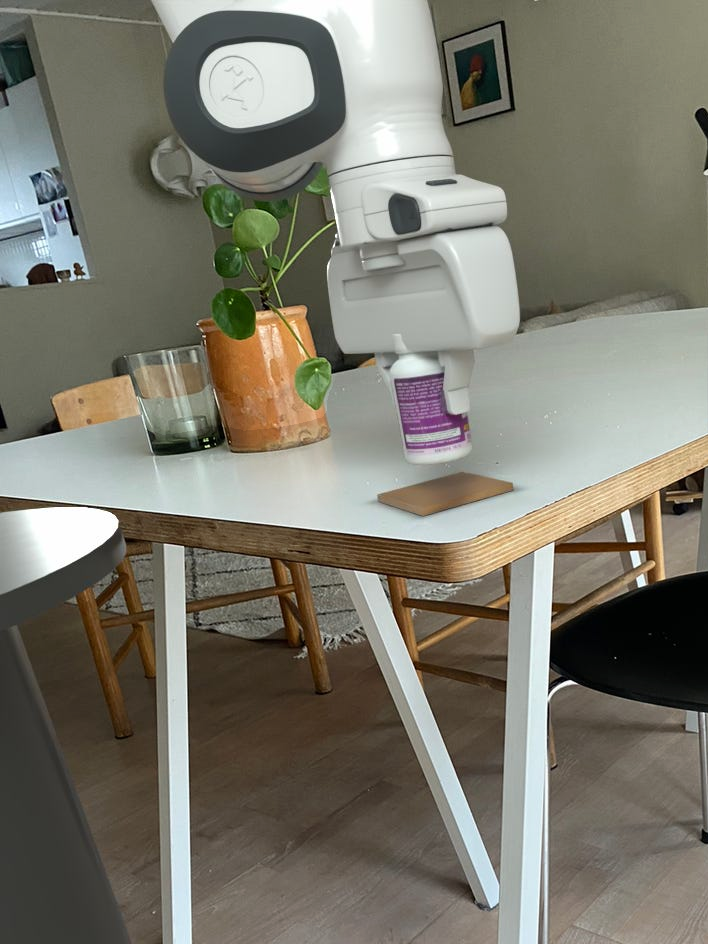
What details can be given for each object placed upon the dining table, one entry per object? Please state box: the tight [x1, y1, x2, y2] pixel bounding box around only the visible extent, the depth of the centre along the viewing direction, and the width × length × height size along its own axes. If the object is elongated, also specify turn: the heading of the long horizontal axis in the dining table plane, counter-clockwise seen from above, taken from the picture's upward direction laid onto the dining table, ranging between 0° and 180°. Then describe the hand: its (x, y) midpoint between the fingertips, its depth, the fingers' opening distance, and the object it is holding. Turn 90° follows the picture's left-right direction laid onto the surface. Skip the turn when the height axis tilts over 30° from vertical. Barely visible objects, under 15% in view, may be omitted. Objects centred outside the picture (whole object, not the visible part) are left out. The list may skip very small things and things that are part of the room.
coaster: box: [376, 471, 514, 517], centre depth 73 cm, size 8×8×1 cm
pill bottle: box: [390, 334, 473, 466], centre depth 70 cm, size 5×5×10 cm
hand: (431, 411), depth 71 cm, fingers closed on pill bottle, 5 cm apart
